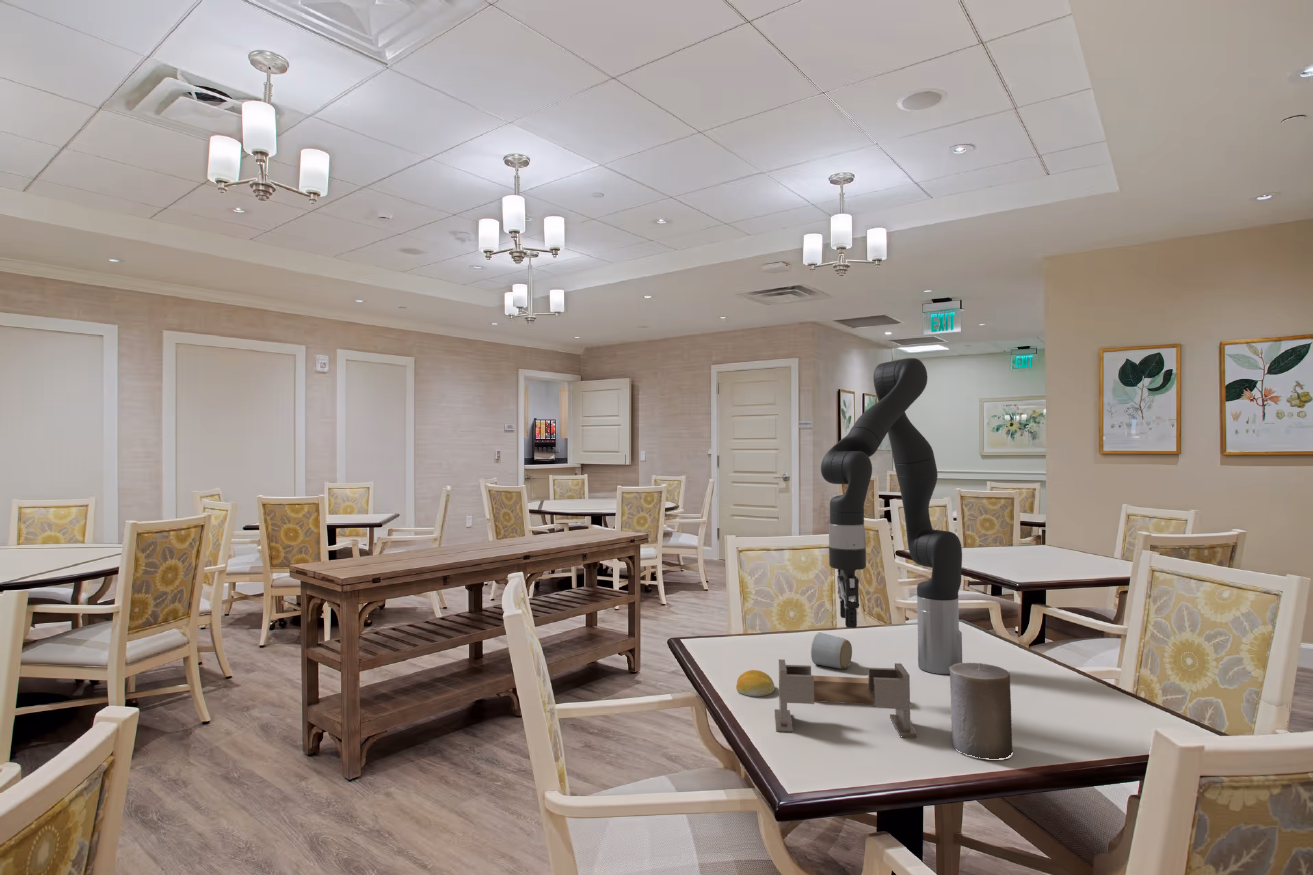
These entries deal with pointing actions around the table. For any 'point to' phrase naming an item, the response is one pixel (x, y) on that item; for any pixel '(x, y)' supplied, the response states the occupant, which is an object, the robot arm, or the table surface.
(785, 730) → the brackets
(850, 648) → the ceramic mug
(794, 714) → the table surface
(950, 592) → the robot arm
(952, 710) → the pillar candle
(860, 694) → the rail
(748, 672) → the bread roll
